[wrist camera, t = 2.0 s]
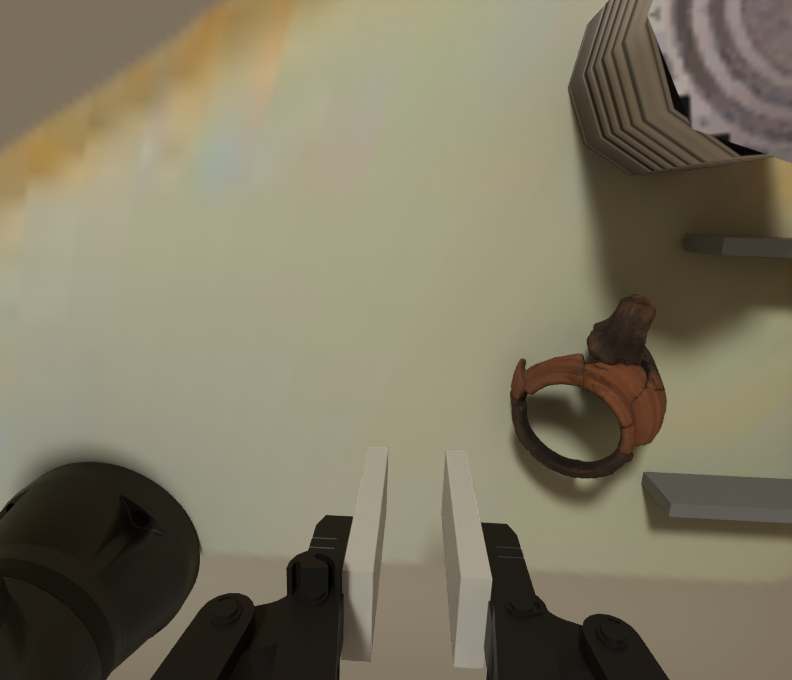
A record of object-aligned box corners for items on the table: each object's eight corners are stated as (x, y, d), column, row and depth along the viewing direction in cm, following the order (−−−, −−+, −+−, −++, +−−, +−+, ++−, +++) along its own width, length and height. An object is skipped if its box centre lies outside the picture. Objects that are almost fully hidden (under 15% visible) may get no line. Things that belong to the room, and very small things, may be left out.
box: (641, 484, 36) (668, 516, 32) (686, 234, 31) (724, 237, 28) (815, 493, 36) (864, 527, 32) (886, 241, 31) (954, 245, 27)
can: (541, 153, 31) (617, 118, 19) (604, -54, 28) (738, -245, 16) (716, 198, 31) (895, 190, 19) (796, -3, 28) (1064, -155, 16)
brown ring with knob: (644, 442, 36) (627, 517, 30) (520, 394, 40) (482, 451, 33) (712, 292, 30) (709, 345, 24) (559, 253, 34) (521, 289, 27)
